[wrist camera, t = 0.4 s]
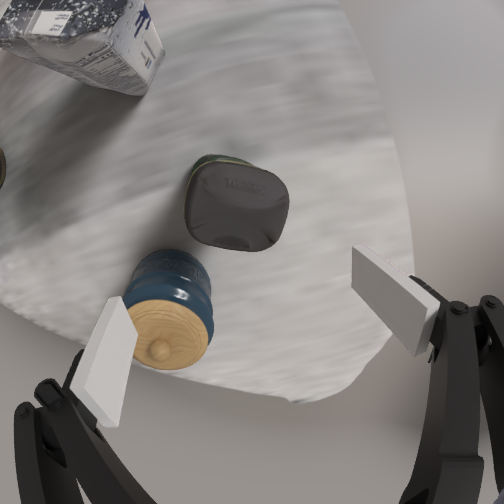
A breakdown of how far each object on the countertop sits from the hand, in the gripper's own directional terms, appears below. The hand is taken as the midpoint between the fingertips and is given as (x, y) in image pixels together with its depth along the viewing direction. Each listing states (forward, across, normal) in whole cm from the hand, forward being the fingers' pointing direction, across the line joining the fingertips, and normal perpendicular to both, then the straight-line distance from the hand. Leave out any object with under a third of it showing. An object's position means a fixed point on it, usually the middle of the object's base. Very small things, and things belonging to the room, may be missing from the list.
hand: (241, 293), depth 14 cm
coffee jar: (+28, +1, +2) cm, 28 cm away
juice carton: (+28, -9, +22) cm, 37 cm away
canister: (+28, -10, -13) cm, 32 cm away
